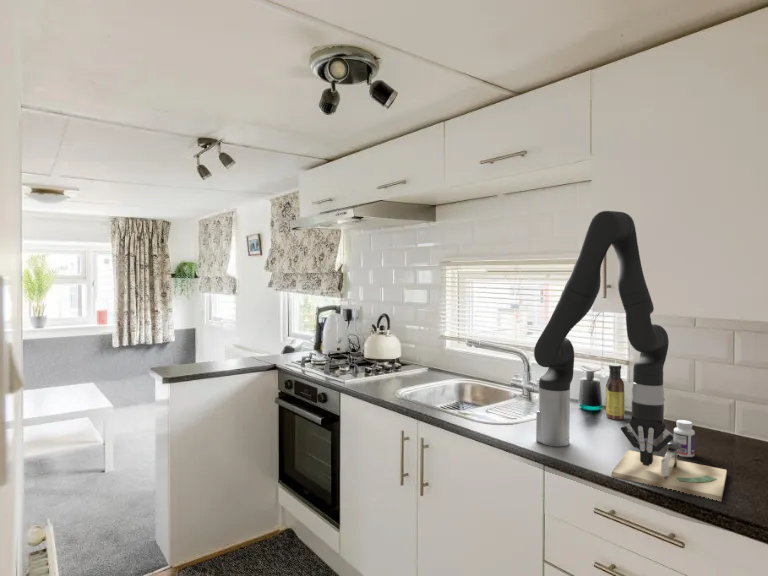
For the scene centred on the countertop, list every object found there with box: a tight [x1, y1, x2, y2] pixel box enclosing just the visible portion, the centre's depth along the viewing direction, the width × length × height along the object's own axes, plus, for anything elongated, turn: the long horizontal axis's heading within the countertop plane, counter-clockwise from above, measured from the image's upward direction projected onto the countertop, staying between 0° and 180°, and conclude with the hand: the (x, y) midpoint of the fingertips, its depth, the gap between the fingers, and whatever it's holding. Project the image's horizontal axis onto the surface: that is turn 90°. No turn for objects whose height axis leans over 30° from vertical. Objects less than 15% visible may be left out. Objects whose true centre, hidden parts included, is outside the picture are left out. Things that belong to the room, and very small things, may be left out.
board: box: [611, 449, 728, 503], centre depth 132 cm, size 24×20×1 cm
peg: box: [661, 440, 681, 476], centre depth 131 cm, size 14×4×6 cm, turn 143°
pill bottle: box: [673, 419, 696, 458], centre depth 147 cm, size 5×5×10 cm
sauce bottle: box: [605, 363, 626, 421], centre depth 184 cm, size 6×6×20 cm
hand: (646, 464), depth 133 cm, fingers closed
